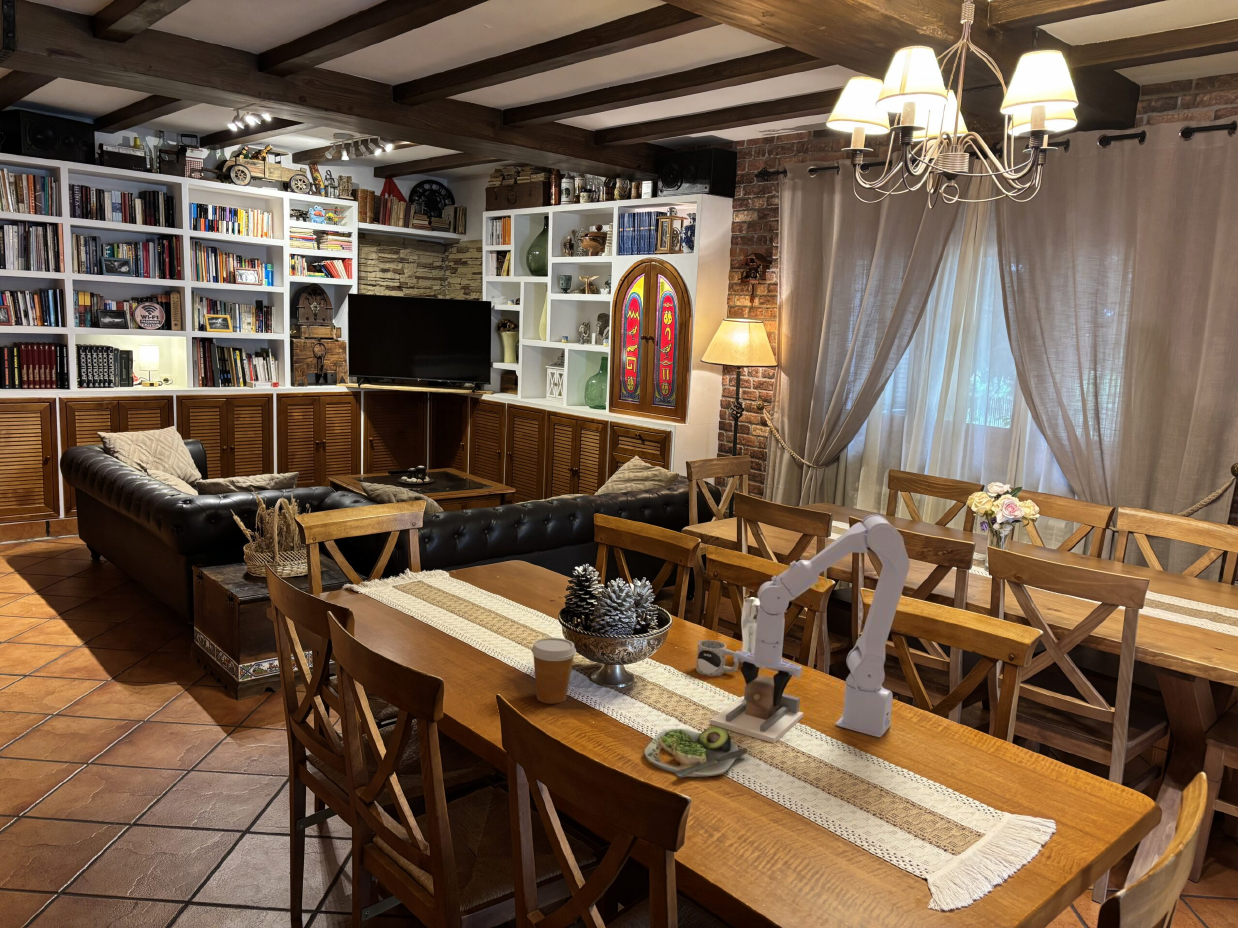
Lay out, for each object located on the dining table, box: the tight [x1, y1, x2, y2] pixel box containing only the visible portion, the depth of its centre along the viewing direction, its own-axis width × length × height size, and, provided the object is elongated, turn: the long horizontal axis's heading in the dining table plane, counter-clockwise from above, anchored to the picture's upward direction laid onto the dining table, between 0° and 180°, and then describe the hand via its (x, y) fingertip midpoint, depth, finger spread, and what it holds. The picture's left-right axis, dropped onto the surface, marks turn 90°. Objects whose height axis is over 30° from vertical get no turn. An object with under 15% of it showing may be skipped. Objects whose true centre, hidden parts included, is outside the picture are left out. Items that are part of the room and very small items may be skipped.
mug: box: [695, 639, 739, 677], centre depth 216 cm, size 10×7×7 cm
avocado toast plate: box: [643, 726, 749, 778], centre depth 170 cm, size 19×18×5 cm
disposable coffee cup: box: [531, 637, 577, 705], centre depth 195 cm, size 10×10×12 cm
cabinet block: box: [745, 674, 781, 720], centre depth 191 cm, size 5×8×6 cm, turn 148°
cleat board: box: [709, 684, 804, 744], centre depth 190 cm, size 14×16×4 cm
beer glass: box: [740, 597, 760, 653], centre depth 226 cm, size 7×7×15 cm
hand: (764, 701), depth 192 cm, fingers closed on cabinet block, 5 cm apart
